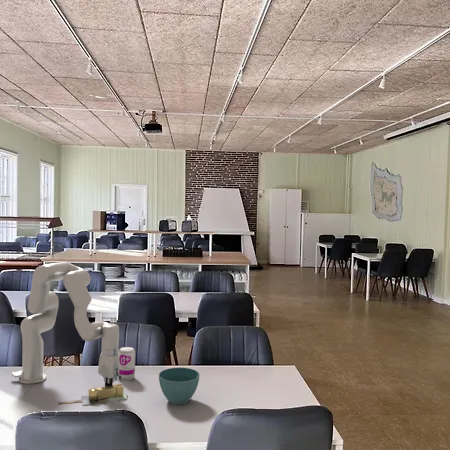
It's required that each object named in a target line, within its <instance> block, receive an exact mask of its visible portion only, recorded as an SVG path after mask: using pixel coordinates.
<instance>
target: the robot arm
mask: <svg viewBox="0 0 450 450" xmlns="http://www.w3.org/2000/svg"><path fill="white" fill-rule="evenodd" d="M31 280H32V283H31V288H30V293H29V297H28V303H27V309H28V311H29V313H31V314H32V315H29V316H27V317H25V318H23V320H22V321H21V323H20V333H21V338H22V347H21V348H22V350H21V351H22V352H21V353H22V356H21V357H22V361H21V362H22V363H21V365H22V366H21V367H22V368H21V370H19V371H12V372H11V377H14V378H18V382H19V383H21V384H27V385H28V384H29V385H30V384H31V385H32V384H38V383H39V384H40V383H41V382H43V381H45V380H46V379H47V375H46V374H45V373H44V340H43V338H42V335H41V334H42V333H44V332H48V331H49V330H52V328H53V327H54V326H55V325H56V324H55V323H56V319H57V314H58V311H59V304H60V302H59V301H60V300H59V297H58V295H57V294H56V292H54V291H51V284H50V283H51V282H57V281H62V283H63V285H64V288H65V290H66V292H67V294H68V296H69V298H70V300H71V303H72V305H73V307H74V310H73V322H74V325H75V329H76V330H77V332H78V335H79V337H81V339H82V340H83V341H85V342H92V341H95V340H98V339H100V338H101V353H100V355H99V357H98V358H99V359H98V367H97V373H98V374H99V375H100V376H102V378H103V382H104V387H106V386H112V385H114V384H113V383H114V382H116V381H118V380H119V378H118V376H119V356H118V352H119V343H120V342H119V341H120V326H119V325H118V324H116V323H109V322H106V321H103V320H97V321H94V322H91V321H89V317H88V314H87V313H88V307H89V306H90V303H91V302H92V300H93V299H92V296H91V294H90V292H89V290H88V288H87V286H89V285H90V284H91V275H90V273H89V272H88V271H87V270H85V269H84V268H81V267H79V266H76V264H72V263H70V262H68V261H61V262H54V263H53V262H52V263H46V264H42V265H39V266H37V267H36V268H35V269H34V270H33V273H32V279H31ZM90 322H91V323H90Z"/></svg>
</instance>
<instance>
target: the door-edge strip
mask: <svg viewBox="0 0 450 450" xmlns="http://www.w3.org/2000/svg"><path fill="white" fill-rule="evenodd" d="M126 396H127V398H128V395H127V394H126ZM105 400H106V401H108V400H109V398H105ZM76 402H78V403H82V399H79V400H78V399H76V400H67V401H58V402H57V404H58V405H66V404H67V405H68V404H76Z"/></svg>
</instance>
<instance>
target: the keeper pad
mask: <svg viewBox="0 0 450 450" xmlns="http://www.w3.org/2000/svg"><path fill="white" fill-rule="evenodd" d="M126 395H127V393H123V396H113V397H108V398H109V399H108V401H109V402H111V401H112V402H114V401H123V400H128V397H127V396H128V395H127V396H126Z"/></svg>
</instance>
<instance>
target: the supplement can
mask: <svg viewBox="0 0 450 450" xmlns="http://www.w3.org/2000/svg"><path fill="white" fill-rule="evenodd" d="M118 356H119V376H117V379H118V380H120V381H123V382H130V381H132V380H133V379H134V378H135V377H136V375H135V373H136V370H135V369H136V351H135V348H134V347H131V346H122V347H120V348H119V349H118Z"/></svg>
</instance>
